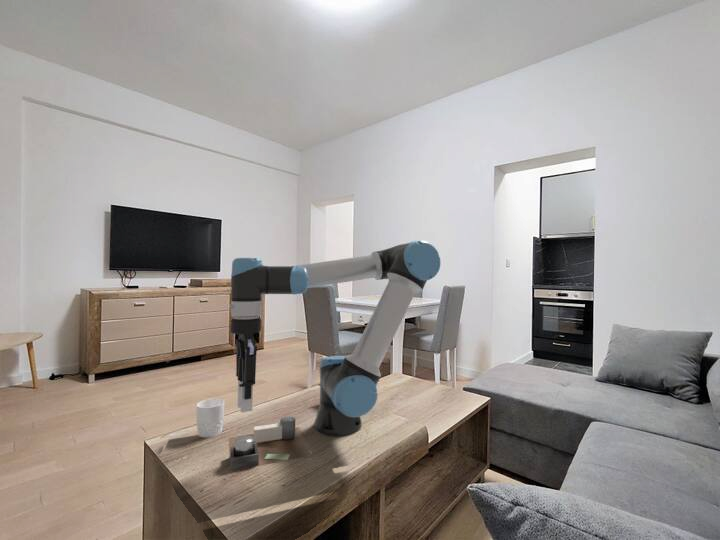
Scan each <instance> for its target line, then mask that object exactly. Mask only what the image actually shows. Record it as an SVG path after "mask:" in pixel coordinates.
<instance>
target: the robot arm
mask: <svg viewBox="0 0 720 540" xmlns="http://www.w3.org/2000/svg"><path fill="white" fill-rule="evenodd" d="M440 268H441V257H440V254H439V252H438V249H437V248H436V247H435V246H434V245H433V244H432V243H431V242H428V241H425V240H413V241H410V242H408V243H402V244H397V245H395V246H392V247H388V248H386V249H381V250H379V251H377V250H376V251H373V252H371V253H370V255H369V254H368V255H364V256H356V257H354V256H353V257H348V258H341V259H335V260H334V259H333V260H328V261H326V260H325V261H321V262H313V263H306V264H305V263H304V264H298V265H289V266H287V265H285V266H284V265H282V266H281V265H277V266H274V265H273V266H269V265H263V261H262V259H261V258H260V257H259V258H258V257H236V258H234V259H233V260H232V263H231V275H230V276H231V278H230V280H231V281H230V286H231V288H230V289H231V290H230V291H231V293H230V294H231V295H230V296H231V301H230V303H231V304H230V305H228V309H231V311H230V316H231V317H232V318H231V319H230V333H232V334H234V335H238V339H235V353H236V355H235V356H236V357H235V359H236V362H235V363H236V367H235V368H236V370H235V372H236V373H235V376H236V377H237V378H236V379H237V408H240V412H241V413H245V412H251V411H253V395H254V394H253V391H254V389H253V388H254V386H253V385H256V374H257V371H256V370H257V352H258V347H257V345H256V340H255V339H254V335H255V334H258V333H261V332H262V318H261V317H260V316H262V312H263V311H262V309H263V308H262V307H263V306H262V303H263V302H262V295H301V294H302V295H303V294H305V293H307V291H308V289H310V288H316V287H323V286H329V285H331V286H332V285H336V284H343V283H350V282H355V281H356V282H357V281H361V280H366V279H368V280H369V279H375V280H377V281H379V280H388V281H387V285H386V287H385V288H384V291H383V293H382V295H381V296H380V299H379V301H378V303H377V304H376V307H375V309H374V310H373V312H372V315H371V316H370V318H369V320H368V323H367V324H366V326H365V328H364V330H363V333H362V334H361V337H360V339H359V340H358V342H357V343H356V346H355V349H354V350H353V352H352V353H351V354H348V355H333V356H332V355H331V356H330V355H329V356H325V357H322V358H321V360H320V366H319V370H320V374H319V377H320V378H319V380H320V381H319V384H320V385H319V386H320V387H319V406H318V407H319V408H318V411H317V412H316V413H317V414H316V417H315V419H314V424H313V425H314V426H313V427H314V428H313V429H315V431H316V432H317V433H319V434H321V435H325V436H329V437H345V436H350V435H353V434H356V433H357V432H359V431H360V430H361V429H362V425H363V423H362V418H361V417H362V416H364V415H367V414H368V413H369V412H370V411H372V409H373V408H374V407H375V405H376V403H377V400H378V389H377V386H378V383H379V381H380V379H381V377H382V374H381V371H380V366H381V365H382V362H383V360H384V358H385V356H386V354H387V351H388V350H389V347H390V346H391V344H392V342H393V339H394V338H395V335H396V333H397V332H398V329H399V327H400V326H401V323H402V321H403V319H404V317H405V314H406V313H407V311H408V309H409V306H410V305H411V303H412V301H413V299H414V296H415V295H416V294H419V293H422V292H423V290H424V287H425V285H426V284H427V281H429V280H432V279H433V278H435V277H436V276H437V275H438V273H439V271H440Z"/></svg>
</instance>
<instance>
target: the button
mask: <svg viewBox="0 0 720 540" xmlns="http://www.w3.org/2000/svg"><path fill="white" fill-rule="evenodd" d="M241 436H242V437H239V438H237V439H236V440H235V454H236V455H238V456H246V455H249V454H251V453H252V452H253V437H252V436H244V435H241Z"/></svg>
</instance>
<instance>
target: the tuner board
mask: <svg viewBox="0 0 720 540" xmlns="http://www.w3.org/2000/svg"><path fill="white" fill-rule="evenodd" d="M242 436H252V437H253V452H252V453H251V454H249V455H246V456H238V455H236V454H235V440H236V439H237V438H239V437H242ZM307 457H313V453H312V451H311V450H310V447H309V445H308V443H307V442H306V439H305V437H304V435H303V433H302V430H301V428H300V427H299V426H297V427H296V426H295V437H294V438H292V439H278V440H271V441H265V442H259V443H254V433H251V434H245V435H239V436H232V437H229V472H232V471H236V470H237V471H239V470H243V469H247V468H248V469H249V468H253V467H259V466H265V465H270V464H275V463H276V464H277V463H280V462H285V461H291V460H296V459H301V458H307Z"/></svg>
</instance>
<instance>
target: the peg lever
mask: <svg viewBox="0 0 720 540" xmlns="http://www.w3.org/2000/svg"><path fill="white" fill-rule="evenodd" d="M295 428H296V418H295V416H284V417H281V418H280V420H279V422H278V423H272V424H264V425H259V426H256V425H255V426H253V434H254V443H259V442H265V441H271V440H278V439H292V438H294V437H295Z"/></svg>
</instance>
